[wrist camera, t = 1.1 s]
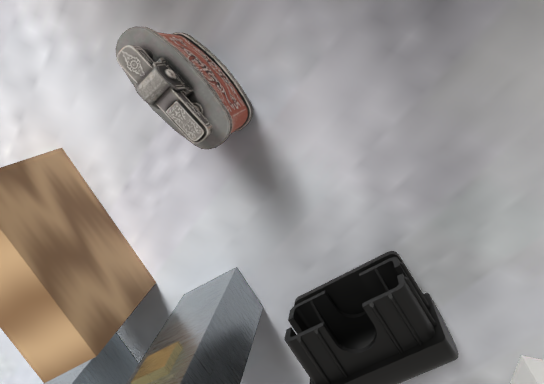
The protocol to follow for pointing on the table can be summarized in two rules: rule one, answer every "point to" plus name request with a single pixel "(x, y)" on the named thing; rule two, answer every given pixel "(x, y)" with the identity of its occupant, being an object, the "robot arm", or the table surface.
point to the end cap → (369, 327)
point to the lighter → (184, 85)
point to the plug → (61, 266)
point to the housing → (185, 342)
